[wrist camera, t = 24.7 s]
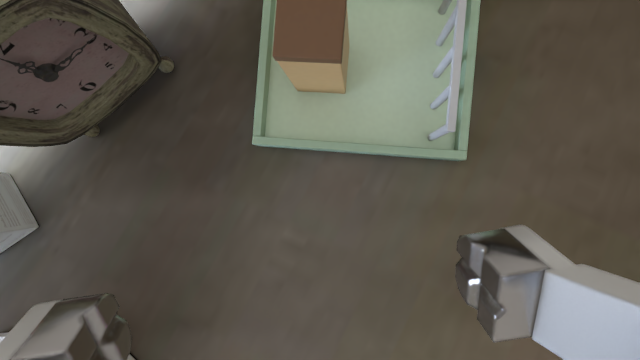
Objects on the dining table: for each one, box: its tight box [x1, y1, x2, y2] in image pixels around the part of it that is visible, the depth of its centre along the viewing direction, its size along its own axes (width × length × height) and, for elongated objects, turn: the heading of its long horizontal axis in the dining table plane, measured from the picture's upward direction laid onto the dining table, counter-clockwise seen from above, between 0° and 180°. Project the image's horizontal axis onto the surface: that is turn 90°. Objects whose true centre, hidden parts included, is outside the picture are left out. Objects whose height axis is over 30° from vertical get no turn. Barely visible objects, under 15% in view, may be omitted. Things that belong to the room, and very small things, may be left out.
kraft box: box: [272, 0, 349, 94], centre depth 29 cm, size 5×5×10 cm
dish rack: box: [252, 0, 481, 161], centre depth 30 cm, size 20×16×8 cm
